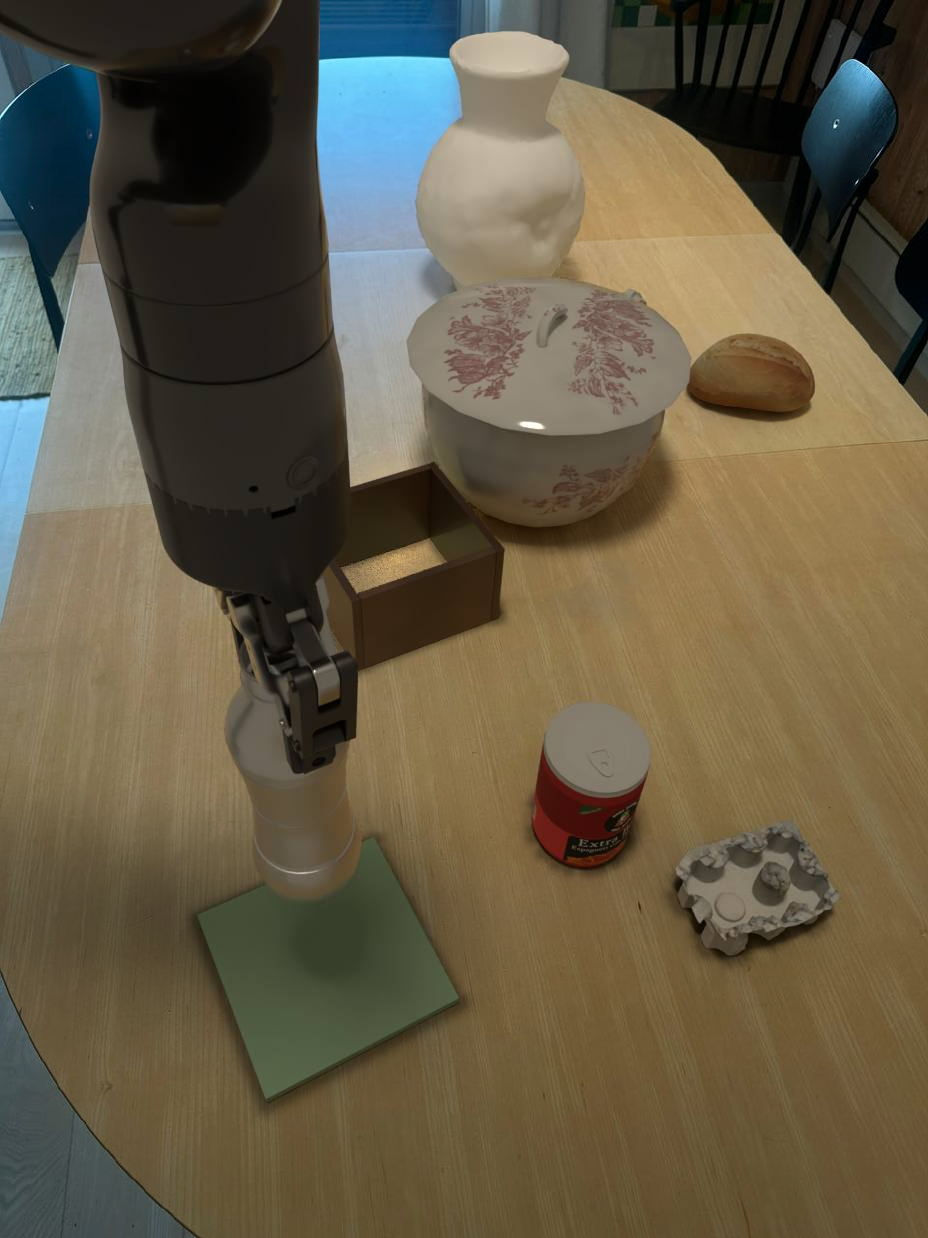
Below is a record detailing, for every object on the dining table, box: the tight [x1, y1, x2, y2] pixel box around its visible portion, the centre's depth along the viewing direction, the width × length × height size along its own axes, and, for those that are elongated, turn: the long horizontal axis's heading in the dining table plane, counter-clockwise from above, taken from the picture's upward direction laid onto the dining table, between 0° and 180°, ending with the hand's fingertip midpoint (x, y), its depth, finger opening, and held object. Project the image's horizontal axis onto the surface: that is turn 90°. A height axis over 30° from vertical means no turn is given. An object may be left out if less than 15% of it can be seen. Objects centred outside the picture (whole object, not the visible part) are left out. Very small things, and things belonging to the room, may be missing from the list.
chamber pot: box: [406, 276, 692, 529], centre depth 98 cm, size 28×28×21 cm
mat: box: [196, 836, 460, 1104], centre depth 68 cm, size 14×14×1 cm
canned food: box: [531, 701, 652, 868], centre depth 73 cm, size 8×8×11 cm
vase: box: [414, 30, 586, 291], centre depth 122 cm, size 19×21×30 cm
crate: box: [322, 461, 506, 671], centre depth 90 cm, size 15×14×9 cm
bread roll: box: [687, 332, 816, 413], centre depth 114 cm, size 10×15×8 cm, turn 80°
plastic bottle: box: [223, 641, 363, 903], centre depth 52 cm, size 6×7×20 cm
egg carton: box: [675, 818, 842, 956], centre depth 72 cm, size 11×8×4 cm
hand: (286, 711), depth 48 cm, fingers closed on plastic bottle, 6 cm apart
